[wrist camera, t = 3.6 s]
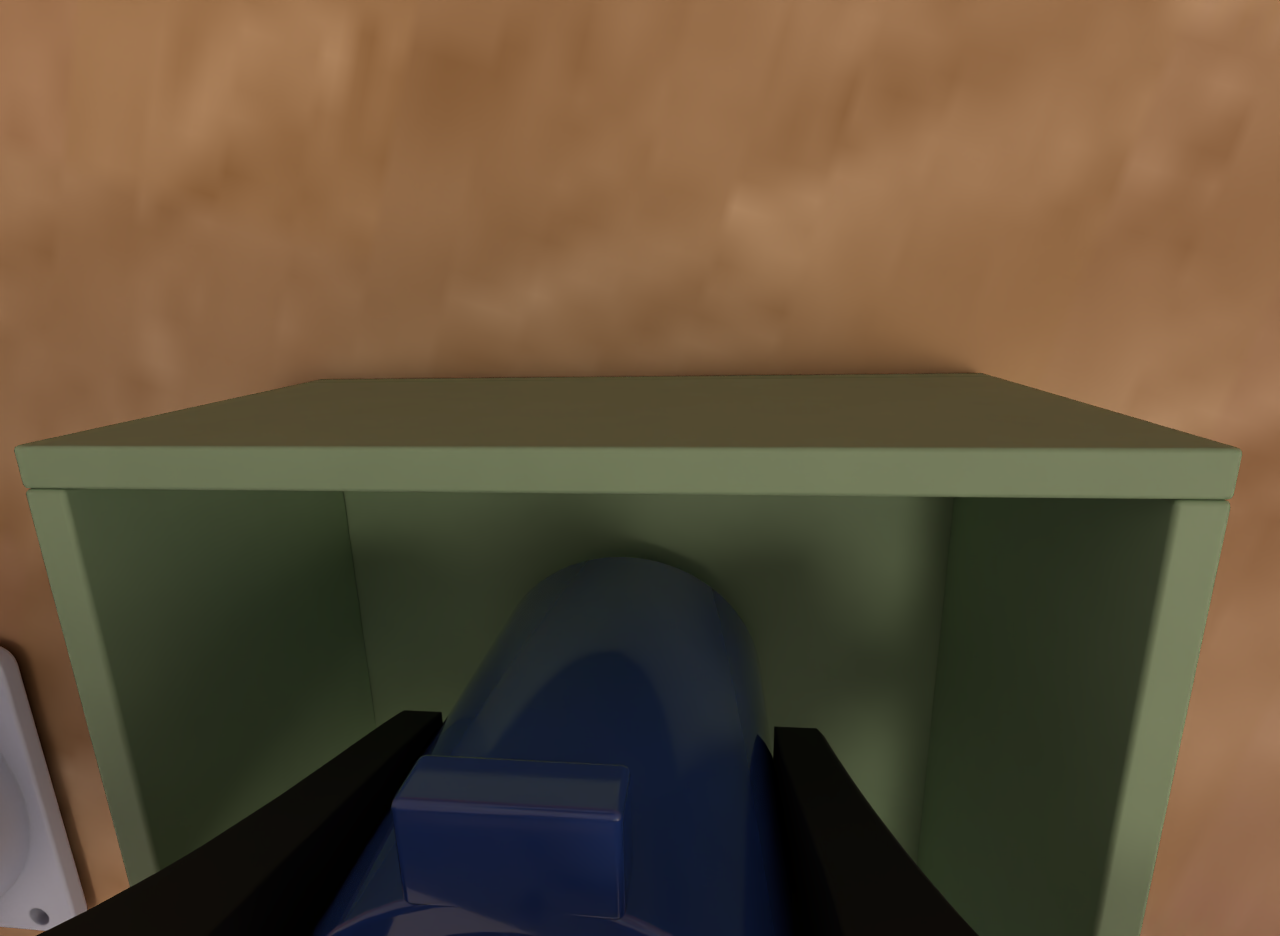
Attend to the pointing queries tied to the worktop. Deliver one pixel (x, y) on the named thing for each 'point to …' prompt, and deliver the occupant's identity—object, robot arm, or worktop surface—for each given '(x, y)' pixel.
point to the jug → (590, 778)
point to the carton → (680, 537)
